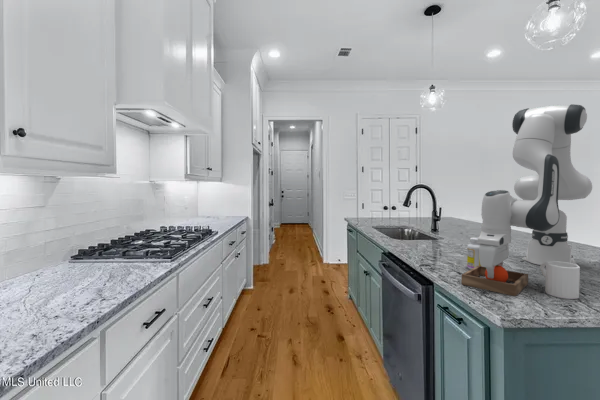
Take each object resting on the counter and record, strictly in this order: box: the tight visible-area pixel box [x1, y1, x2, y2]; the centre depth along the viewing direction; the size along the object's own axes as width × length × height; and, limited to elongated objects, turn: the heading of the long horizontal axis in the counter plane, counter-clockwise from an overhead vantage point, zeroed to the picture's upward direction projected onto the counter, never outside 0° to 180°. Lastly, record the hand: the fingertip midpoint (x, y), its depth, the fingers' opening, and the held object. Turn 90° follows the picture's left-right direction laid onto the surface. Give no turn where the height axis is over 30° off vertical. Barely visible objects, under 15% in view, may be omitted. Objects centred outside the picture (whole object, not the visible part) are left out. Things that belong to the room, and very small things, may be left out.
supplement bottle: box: [466, 237, 481, 270], centre depth 125 cm, size 7×7×13 cm
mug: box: [539, 261, 581, 300], centre depth 97 cm, size 8×12×10 cm, turn 4°
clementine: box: [484, 265, 508, 283], centre depth 106 cm, size 8×7×7 cm
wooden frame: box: [461, 266, 529, 297], centre depth 106 cm, size 17×16×4 cm
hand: (494, 275), depth 106 cm, fingers closed on clementine, 7 cm apart
